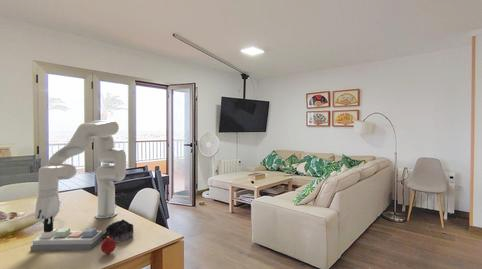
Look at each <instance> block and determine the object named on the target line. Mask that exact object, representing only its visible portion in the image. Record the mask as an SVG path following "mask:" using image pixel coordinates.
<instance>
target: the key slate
mask: <svg viewBox="0 0 482 269" xmlns="http://www.w3.org/2000/svg"><path fill="white" fill-rule="evenodd" d="M82 231H83V237H92V236H94V235H95V234H96V233H97V231H98V230H97V227H88V228H85V230H82Z"/></svg>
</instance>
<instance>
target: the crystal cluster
mask: <svg viewBox="0 0 482 269" xmlns="http://www.w3.org/2000/svg"><path fill="white" fill-rule="evenodd" d="M133 235H134V224H132V223H129V221H127V220H125V219H121V220H118V221H114V222H112V223H111V224H109V225H108V226H106V229H105V233H104V238H103V239H104V240H105V239H106V238H107V236H109V237H110V238H112V239H113V240H114V241H115V242H116V243H119V242H123V241H124V242H125V241H126V240H127V239H129V238H131V237H132V236H133Z"/></svg>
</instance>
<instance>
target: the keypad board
mask: <svg viewBox="0 0 482 269" xmlns="http://www.w3.org/2000/svg"><path fill="white" fill-rule="evenodd" d="M83 231H84V230H70V234H69V235H67V236H66V237H55V236H53V237H52V238H41V235H40V236H37V238H35V239H33V240H32V245H30V251H31V252H32V251H33V252H34V251H35V252H36V251H37V252H39V251H81V250H83V251H84V250H86V251H88V250H92V249H93V248H94V247H95V246H96V245H97V244H98V243H100V242H101V241H102V240H103V239H104V237H105V236H104V234H105V233H104V230H103V229H102V230H97V233H96V234H95V235H94V236H92V237H83V235H82V236H81V237H79V238H69V236H70V235H71V234H73V233H74V232H83Z"/></svg>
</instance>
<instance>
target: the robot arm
mask: <svg viewBox="0 0 482 269" xmlns="http://www.w3.org/2000/svg"><path fill="white" fill-rule="evenodd" d="M119 126H120V125H119V124H118V122H117V121H115V120H102V119H101V120H92V121H90V122H84V123H81V124H80V125H78V127H77V128H76V130H75V131H74V134H72V137H71V138H70V140H69V141H68V143H67V144H66V145H64V146H63V147H61V148H60V149H59V150H57V151H55V153H53V154H52V156H51V157H49V159H48V160H47V163H46V164H45V166H41V167H39V169H38V187H37V188H38V192H37V193H38V197H37V199H36V203H35V214H34V215H35V216H34V218H35V219H36V220H38V223H42V225H43V232H51V231H53V229H54V222H55V218H56V216H58V214H59V212H60V197H59V181H60V180H61V181H64V180H70V179H72V178H73V177H75V176H76V174H77V168H76V167H75V165H73V164H68V163H64V162H65V161H67V160H68V159H70V158H72V157H75V156H77V155H80V154H82V153H84V152H85V151H86V150H87V148H88V146H89V144H90V142H91V140H92V139H97V141H98V161H99V162H100V163H102V164H105V165H99V166H98V167H97V168H96V170H95V177H96V185H97V212H96V213H95V214H94V218H96V219H109V217H110V218H113V217H116V216H118V214H117V213H118V211H117V210H116V208H117V204H116V193H115V192H116V186H115V183H114V182H121V181H123V180H124V179H125V177H126V173H127V155H126V151H125V150H124V149H122V148H120V147H119V148H118V147H115V140H114V138H113V135H116V134H117V133H118V131H119V128H120V127H119ZM107 164H108V165H107ZM109 164H111V165H109ZM112 164H114V165H112ZM115 215H116V216H115Z"/></svg>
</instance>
